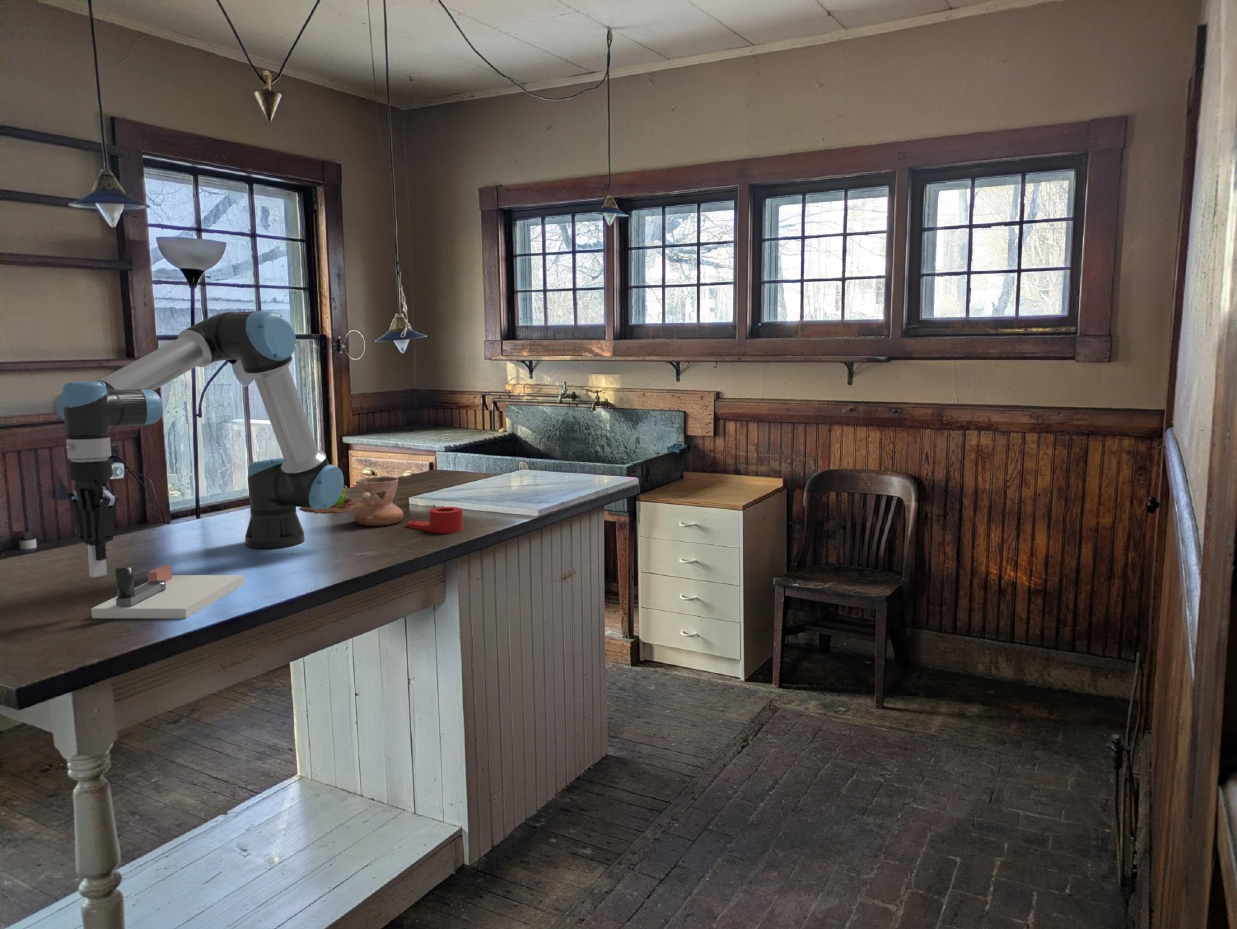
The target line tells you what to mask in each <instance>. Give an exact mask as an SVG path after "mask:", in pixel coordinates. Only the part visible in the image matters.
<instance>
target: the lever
mask: <svg viewBox="0 0 1237 929" xmlns="http://www.w3.org/2000/svg"><path fill="white" fill-rule="evenodd" d="M463 514H464V512H463V508H462V507H457V506H456V507H455V506H441V507H434V508H431V509H429V521H426V520H425V521H424V520H418V521H417V520H412V521H410V520H409V521H407V522H406V527H407V528H409V529H413V530H414V529H415V530H420V531H423V532H424V531H425V532H429V533H433V534H435V533H436V534H454V533H458V532H461V531H463V530H464V521H463V520H464V518H463V516H464V515H463Z"/></svg>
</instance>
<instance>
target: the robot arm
mask: <svg viewBox="0 0 1237 929" xmlns="http://www.w3.org/2000/svg"><path fill="white" fill-rule="evenodd" d="M296 342H297V338H296V333H295V330H294V328H293V327H292V325H291V323H290V321H289V320H288V319H287V318H286V317H285V316H283V315H281V314H279V313H278V312H275V311H267V310H255V311H236V312H233V311H229V312H221V313H218V314H215V315H213V316H210V317H208V318H206V319H204V320H202V321H199V322H197V323H196V324H194V325H192V326H190V327H188V328H186V329H184V330H182V331H180V332H179V333H178V336H177V339H175V340H172V341H170V342H169V343H167V344H165V345H163V346H162V347H159V348H158V349H156V350H154V351H152V352H150V353H148V354H146V355H144V356H143V357H141V358H139V359H137V360H135V361H133V362H131V363H129V364H127V365H126V366H123V367H121V368H120V369H118V370H116V371H114V372H112V373H109V375H106V376H105V377H103V378H100V379H99V380H97V381H95V380H94V381H69V382H66V383H64V384H63V387H62V392H61V393H60V395H59V396H58V397H57V399H56V403H55V406H56V408H55V409H56V411H57V413H58V415H59V417H60V418H61V419H62V420H63V421H64V431H65V441H66V445H65V448H66V451H67V452H66V456H67V459H69V460H70V461H69V462H68V463H67V469H68V470H67V471H68V479H69V480H70V481H74V482H75V483H74V491H72V492H67V493H66V497H67V500H68V502H69V504H70V508H71V511H72V516H73V519H74V520H73V521H74V525H75V530H76V533H77V538H78V540H79V541H83V542H84V544H85V545H86V554H87V561H88V562H87V563H88V572H89V573H88V575H89V578H97V577H103V576H106V575H108V568H107V566H108V565H107V548H106V547H107V546H106V545H107V543H109V542H112V541H113V540H114V534H115V532H114V531H115V520H116V511H117V509H116V508H117V506H118V505H117V504H118V501H119V496H118V495H117V494H114V495H113V494H112V493H111V492H110V486H109V483H108V480H109V479H110V478H112V477H113V462H112V460H111V459H109V458H110V457H111V456H112V447H111V446H112V445H111V433H110V429H111V428H112V429H113V428H119V427H121V428H123V427H135V426H136V427H137V426H139V427H140V426H142V427H144V426H146V425H147V426H148V425H154V424H156V423H157V422H159V421H160V419H161V418H162V415H163V412H164V408H163V407H164V406H163V405H164V404H163V401H162V399H161V397H160V395H159V394H158V393H157V391H156V390H157V389H159V388H161V387H162V386H165V385H166V384H168V383H170V382H172V381H173V380H175V379H177V378H179V377H181V376H182V375H184V374H186V373H187V372H189V371H191V370H193V369H194V368H196V367H199V368H204V367H207V366H209V365H210V364H213V363H215V362H220V361H229V360H230V361H232V360H234V361H236V360H237V361H240V363H241V365H242V369H243V371H244V373H245V374H247V375H249V376H251V377H253V379H254V382H255V384H256V387H257V390H258V392H259V395H260V398H261V400H262V403H263V406H264V408H265V411H266V415H267V417H268V419H269V422H270V425H271V427H272V429H273V432H274V436H275V438H276V440H277V444H278V446H279V449H280V451H281V455H282V457H279V458H270V459H264V460H263V459H262V460H259V461H258V460H257V461H253V462H251V463H250V464H249V465H248V466H247V467H248V468H247V474H248V475H247V485H248V496H249V497H248V498H249V499H248V500H249V510H250V518H249V522H248V526H247V529H246V533H245V535H244V541H245V542H244V543H245V546H246V547H248V548H251V549H276V548H277V549H278V548H286V547H291V546H296V545H299V544H303V542H305V540H306V539H305V531H304V529H303V526H302V524H301V521H300V519H299V517H298V513H297V508H301V507H305V508H313V509H319V508H320V509H325V508H329V507H331V506H333V505H334V504H335V503H336V502H337V501H338V499H339V498H340V496H341V493H343V492H342V490H343V485H345V484H344V483H345V482H344V480H345V479H344V474H343V471H342V470H341V469H340V468H339V467H338V466H337V465H335V464H330V463H329V460H328V457H327V455H326V453H325V452H324V451H322V450H321V449H320V450H319V449H318V447H317V444H316V441H315V438H314V435H313V432H312V430H311V426H310V425H309V421H308V419H307V416H306V413H305V410H304V408H303V404H302V401H301V398H300V396H299V393H298V390H297V388H296V385H295V382H294V379H293V375H292V372H291V369H290V366H291V363H292V361H293V356H292V355H293V353H294V352H295V350H296V346H295V344H296Z"/></svg>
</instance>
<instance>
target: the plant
mask: <svg viewBox="0 0 1237 929" xmlns="http://www.w3.org/2000/svg"><path fill="white" fill-rule="evenodd" d="M347 489H348V486H347V485H345V484H344V485H343V490H342V492H341V496H340V498H339V499H338V501H337V502H336V503H335V504H334V505H333V506H331V507H329V508H325V509H320V508H319V509H313V508H305V507H298V509H300V510H299V511H301V510H302V512H307V511H309V512H308V513H314V512H315V515H316V514H345V513H349V511H350V512H352V511H355V510H358V509H359V508H360V507H361V506H362V505H363V503H364V502H360V501H358V500H354V499H352V498H348V497H349V495H346V493H345V492H346V490H347ZM354 509H355V510H354ZM344 512H345V513H344Z"/></svg>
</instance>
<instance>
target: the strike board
mask: <svg viewBox="0 0 1237 929" xmlns="http://www.w3.org/2000/svg"><path fill="white" fill-rule="evenodd" d="M172 571H173V570H172V565H160V566H159V567H156V568H154V569H151V570H149V571H148V572H147V580H148V581H146V582H144V583H142V584H140V585H137V586H136V587H134V589H136V588H139V587H141V586H143V585H145V584H147V583H148V582H151V581H156V580H164V581H166V589H165V590H161V591H159V592H157V593H155V594H153V595H151V596H149V597H147V598H145V599H143V600H141V601H139V602H137V603H135V604H133V605H131V606H116V598H117V596H115V597H112V598H110V599H109V600H106V601H104V602H102V603H100V604H98V605H96V606H94V607H92V608H91V607H90V609H91V619H188V618H190V617H191V616H193V615H195V614H197V613H198V612H199V611H201V610H203V609H204V608H206V607H208V606H210V605H211V604H213V603H214V602H217V601H218V600H220V599H222V598H223V597H225V596H227V595H228V594H230V593H232V592H234V591H235V590H237V589H238V588H240V587H242V586H244V585H245V584H246V582H245V580H246V579H245V575H243V574H232V575H231V574H227V575H226V574H221V575H220V574H206V575H205V574H183V575H182V574H179V575H178V574H173V573H172Z"/></svg>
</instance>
